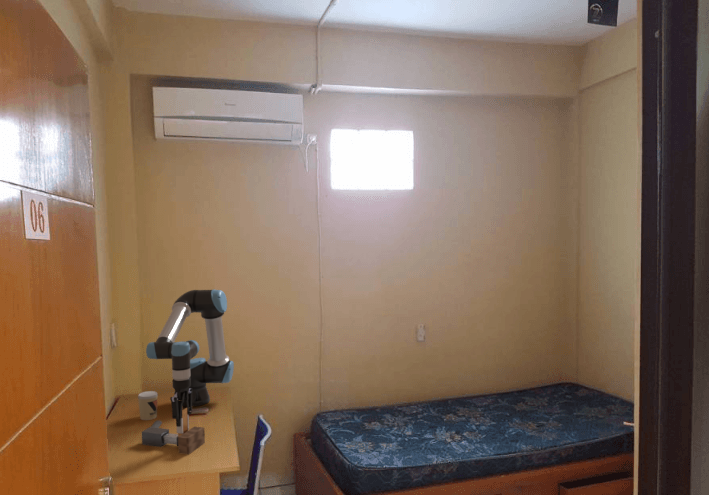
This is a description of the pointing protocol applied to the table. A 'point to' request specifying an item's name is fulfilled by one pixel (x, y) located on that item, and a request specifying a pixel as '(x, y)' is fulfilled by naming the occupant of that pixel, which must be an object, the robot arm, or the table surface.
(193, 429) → the walnut socket
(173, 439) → the sliding bar
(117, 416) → the table surface
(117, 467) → the table surface
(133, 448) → the table surface
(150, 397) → the coffee cup
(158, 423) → the half round rod
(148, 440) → the dark grey block
